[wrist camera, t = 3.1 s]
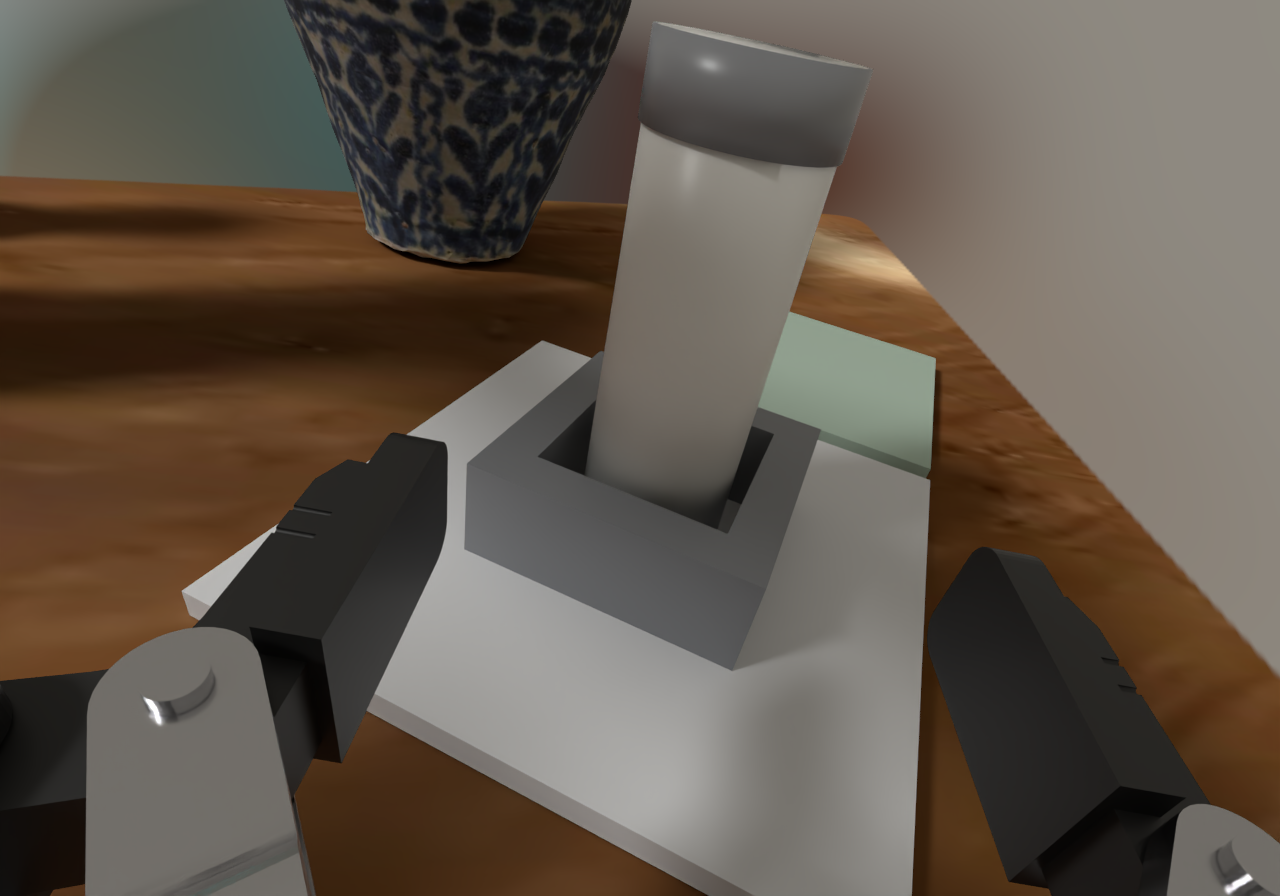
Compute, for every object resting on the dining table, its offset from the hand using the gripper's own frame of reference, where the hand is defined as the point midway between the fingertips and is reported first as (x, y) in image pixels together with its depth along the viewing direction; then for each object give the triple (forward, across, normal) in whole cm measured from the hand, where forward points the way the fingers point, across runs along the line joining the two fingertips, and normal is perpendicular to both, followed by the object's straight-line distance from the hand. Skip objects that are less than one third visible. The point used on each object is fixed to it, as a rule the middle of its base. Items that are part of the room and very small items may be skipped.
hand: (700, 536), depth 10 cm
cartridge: (+10, 0, +9) cm, 14 cm away
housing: (+10, 0, +10) cm, 15 cm away
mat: (+27, -8, +10) cm, 30 cm away
